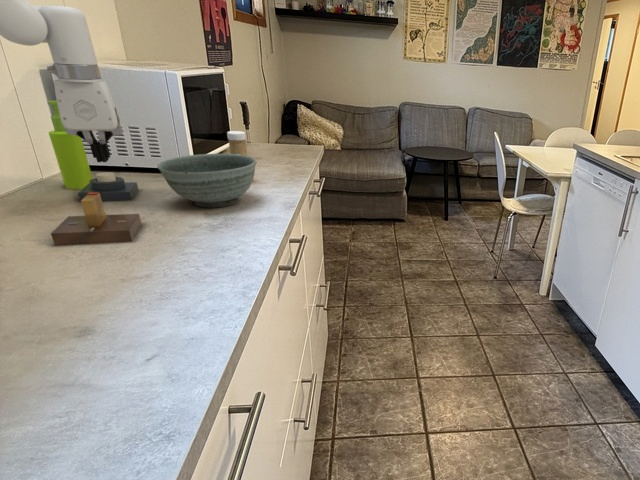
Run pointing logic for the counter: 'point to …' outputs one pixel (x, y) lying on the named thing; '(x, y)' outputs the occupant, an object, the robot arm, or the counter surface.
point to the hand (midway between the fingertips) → (103, 160)
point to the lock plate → (97, 230)
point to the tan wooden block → (93, 209)
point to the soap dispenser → (69, 154)
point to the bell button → (105, 177)
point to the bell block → (111, 190)
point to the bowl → (209, 177)
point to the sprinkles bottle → (237, 142)
